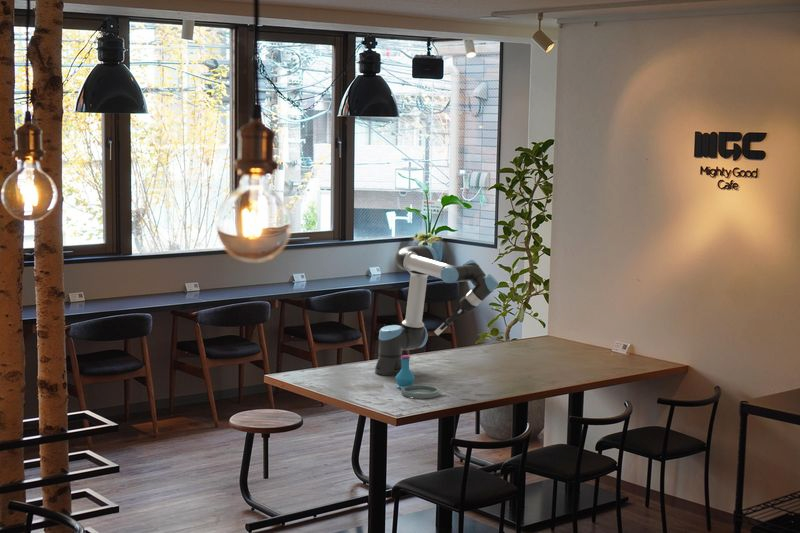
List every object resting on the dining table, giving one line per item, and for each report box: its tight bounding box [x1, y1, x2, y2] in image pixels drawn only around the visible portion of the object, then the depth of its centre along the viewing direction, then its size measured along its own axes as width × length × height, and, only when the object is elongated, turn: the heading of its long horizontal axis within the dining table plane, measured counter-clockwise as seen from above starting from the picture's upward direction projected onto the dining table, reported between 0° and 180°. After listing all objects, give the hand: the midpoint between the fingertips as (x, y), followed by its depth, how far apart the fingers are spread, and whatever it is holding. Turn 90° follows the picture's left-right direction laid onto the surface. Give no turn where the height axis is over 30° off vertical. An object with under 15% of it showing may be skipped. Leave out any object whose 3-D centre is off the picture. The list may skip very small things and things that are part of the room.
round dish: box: [400, 384, 441, 399], centre depth 475 cm, size 17×17×2 cm
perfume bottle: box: [395, 354, 416, 389], centre depth 488 cm, size 9×9×15 cm
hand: (438, 331), depth 488 cm, fingers open, 13 cm apart
